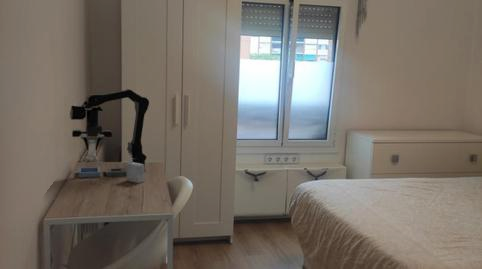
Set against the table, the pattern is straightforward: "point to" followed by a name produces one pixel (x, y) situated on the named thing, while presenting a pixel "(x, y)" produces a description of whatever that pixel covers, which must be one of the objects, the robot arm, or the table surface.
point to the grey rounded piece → (91, 148)
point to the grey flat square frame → (116, 171)
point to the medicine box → (135, 172)
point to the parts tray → (89, 172)
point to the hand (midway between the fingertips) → (92, 150)
